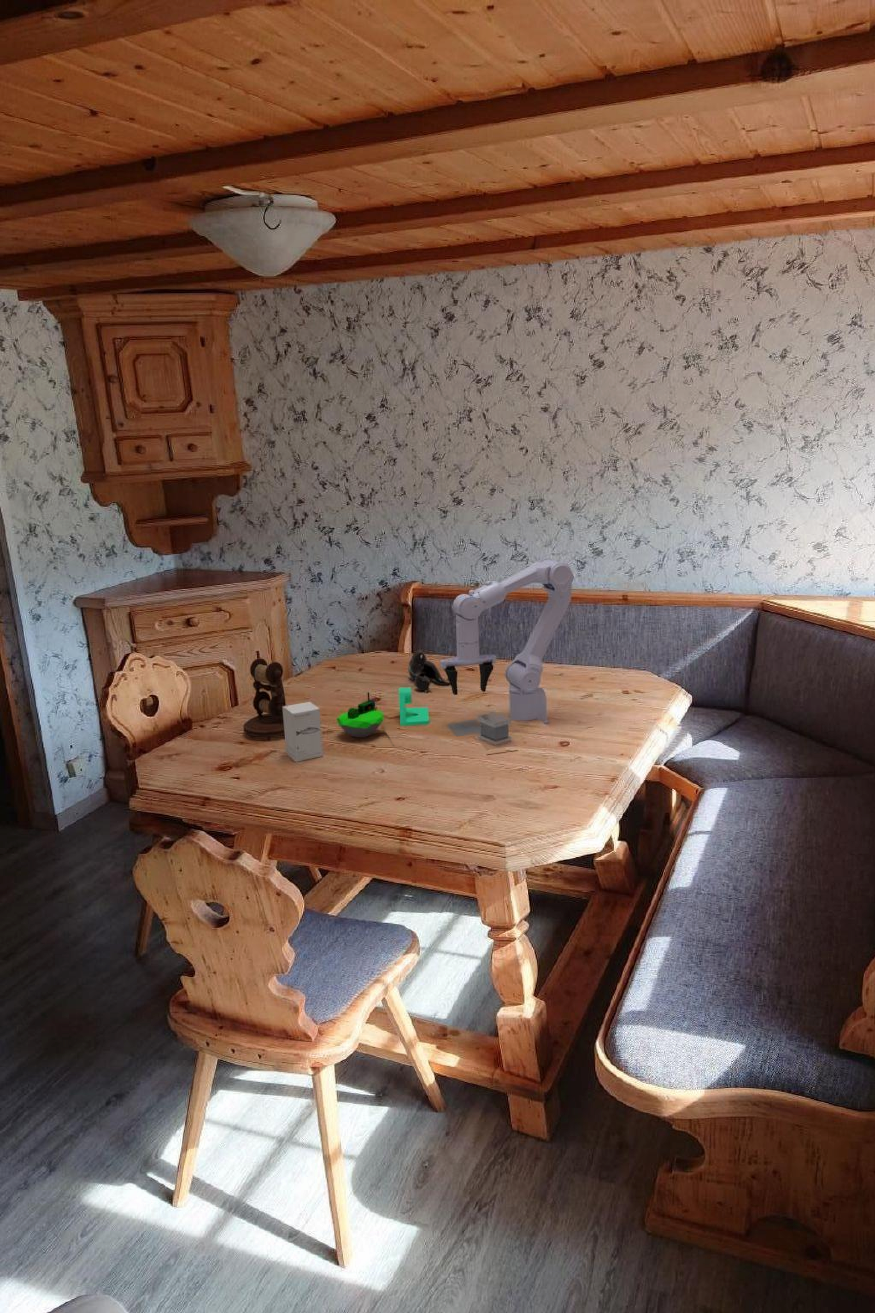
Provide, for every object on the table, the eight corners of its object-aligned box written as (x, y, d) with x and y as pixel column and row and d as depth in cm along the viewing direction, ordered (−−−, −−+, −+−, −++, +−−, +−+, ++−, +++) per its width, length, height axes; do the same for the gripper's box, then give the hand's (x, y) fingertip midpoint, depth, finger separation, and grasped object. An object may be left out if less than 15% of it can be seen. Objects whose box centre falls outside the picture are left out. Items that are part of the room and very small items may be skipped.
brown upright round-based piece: (311, 730, 248) (305, 658, 243) (266, 745, 238) (259, 670, 233) (277, 719, 258) (270, 650, 253) (233, 734, 248) (225, 662, 242)
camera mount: (429, 730, 244) (427, 693, 242) (400, 732, 244) (398, 694, 241) (428, 716, 256) (426, 680, 253) (400, 717, 256) (398, 681, 253)
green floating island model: (359, 726, 250) (356, 687, 247) (393, 732, 243) (390, 692, 241) (329, 739, 241) (325, 698, 238) (363, 746, 234) (360, 704, 231)
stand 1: (474, 725, 246) (474, 720, 245) (486, 737, 236) (486, 732, 236) (446, 729, 244) (445, 724, 243) (456, 741, 234) (456, 736, 234)
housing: (493, 734, 234) (493, 712, 232) (511, 741, 228) (510, 718, 227) (478, 739, 231) (477, 716, 230) (495, 746, 225) (494, 723, 224)
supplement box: (295, 763, 225) (291, 713, 222) (285, 753, 231) (281, 705, 228) (324, 756, 228) (320, 708, 225) (313, 748, 234) (309, 700, 231)
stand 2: (504, 738, 235) (504, 732, 235) (517, 750, 226) (517, 745, 226) (474, 742, 233) (474, 736, 233) (486, 755, 224) (486, 749, 224)
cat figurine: (445, 682, 296) (455, 708, 280) (403, 674, 293) (411, 700, 276) (453, 655, 293) (464, 679, 277) (412, 646, 289) (420, 671, 273)
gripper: (489, 635, 242) (490, 685, 245) (436, 640, 238) (438, 691, 242) (498, 641, 235) (499, 692, 239) (443, 646, 232) (445, 698, 235)
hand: (469, 692), depth 240 cm, fingers open, 7 cm apart
